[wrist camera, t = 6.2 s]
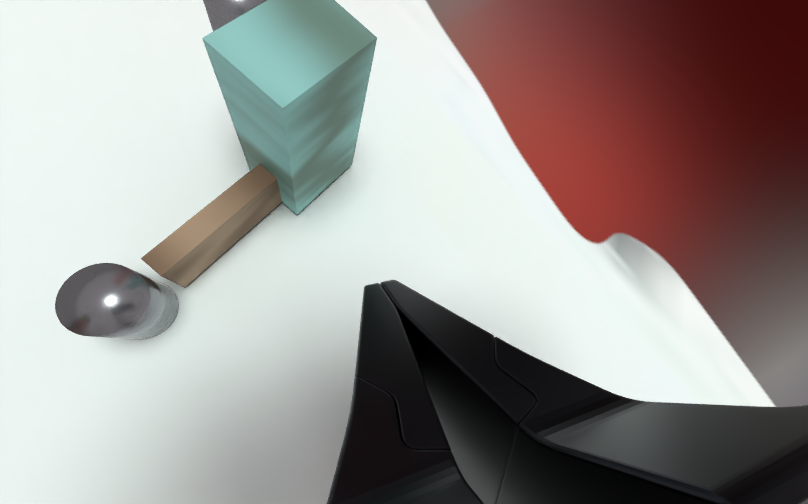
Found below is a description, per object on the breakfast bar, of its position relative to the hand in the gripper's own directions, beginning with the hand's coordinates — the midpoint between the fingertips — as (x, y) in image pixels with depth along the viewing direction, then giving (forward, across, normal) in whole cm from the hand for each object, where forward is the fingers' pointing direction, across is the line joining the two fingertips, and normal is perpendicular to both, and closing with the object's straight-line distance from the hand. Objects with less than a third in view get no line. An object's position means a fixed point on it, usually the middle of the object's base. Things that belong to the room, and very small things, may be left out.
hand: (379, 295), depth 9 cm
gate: (+14, +3, +2) cm, 14 cm away
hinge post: (+10, +10, +6) cm, 15 cm away
